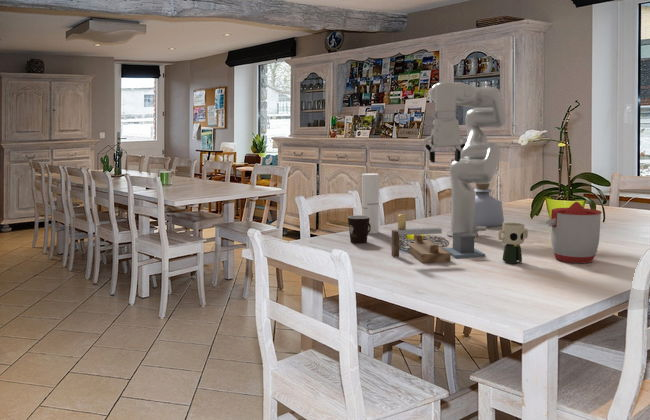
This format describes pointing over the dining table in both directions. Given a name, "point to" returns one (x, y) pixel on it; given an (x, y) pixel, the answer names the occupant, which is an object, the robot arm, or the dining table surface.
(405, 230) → the latch
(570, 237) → the citrus juicer
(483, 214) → the bottle
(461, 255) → the mat
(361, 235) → the coffee mug
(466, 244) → the dark grey block
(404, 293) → the dining table surface
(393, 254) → the plane
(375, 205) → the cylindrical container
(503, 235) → the character mug
